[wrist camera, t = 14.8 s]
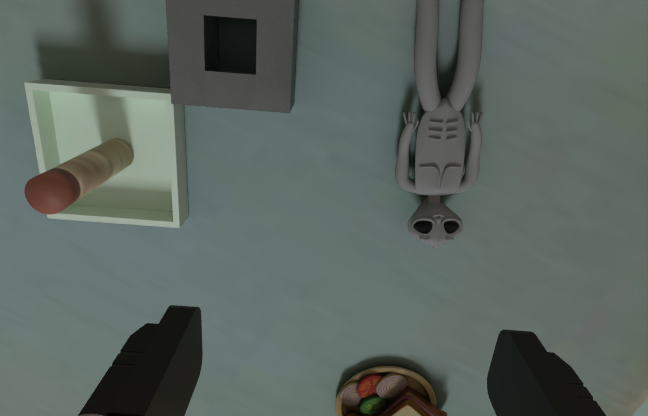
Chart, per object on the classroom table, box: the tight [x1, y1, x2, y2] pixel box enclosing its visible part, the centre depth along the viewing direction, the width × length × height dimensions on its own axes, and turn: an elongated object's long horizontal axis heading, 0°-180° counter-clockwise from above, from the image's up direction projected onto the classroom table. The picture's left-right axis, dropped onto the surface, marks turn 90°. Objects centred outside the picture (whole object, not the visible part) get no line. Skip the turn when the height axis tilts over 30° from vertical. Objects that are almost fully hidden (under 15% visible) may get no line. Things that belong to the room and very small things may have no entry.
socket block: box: [166, 0, 299, 113], centre depth 38 cm, size 10×10×5 cm
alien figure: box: [395, 0, 484, 248], centre depth 41 cm, size 8×5×25 cm
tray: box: [24, 79, 189, 228], centre depth 43 cm, size 13×13×3 cm
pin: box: [25, 138, 134, 215], centre depth 38 cm, size 3×3×12 cm
